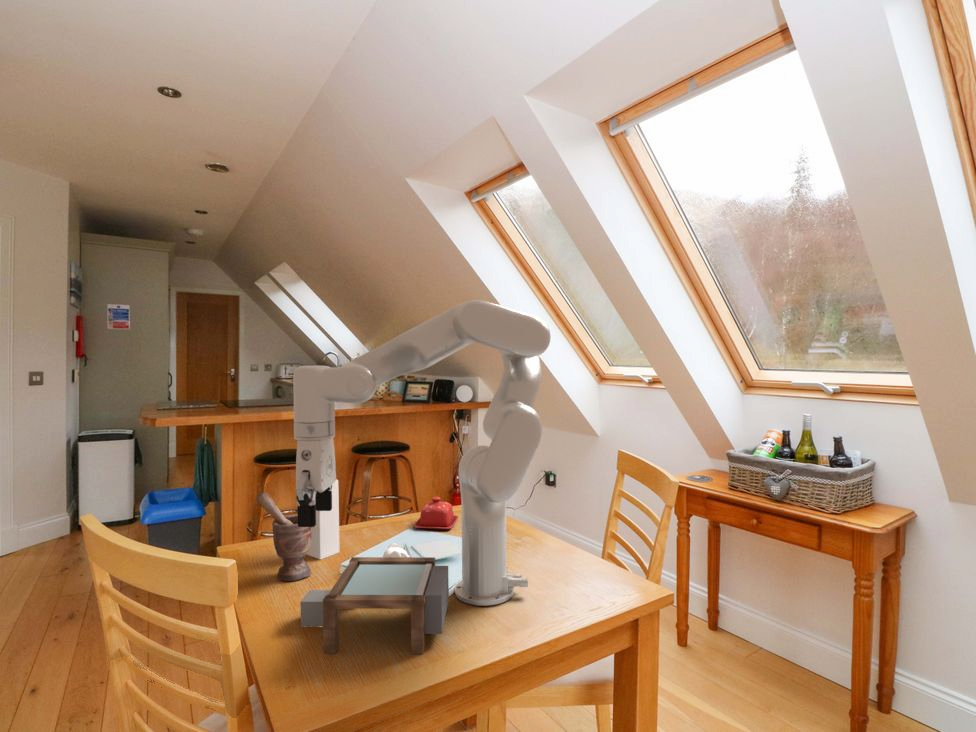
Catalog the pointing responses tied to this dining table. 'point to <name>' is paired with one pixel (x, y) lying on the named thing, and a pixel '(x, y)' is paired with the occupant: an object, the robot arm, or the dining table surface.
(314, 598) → the gray cube
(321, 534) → the milk
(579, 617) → the dining table surface
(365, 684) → the dining table surface
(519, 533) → the dining table surface
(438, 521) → the butter dish
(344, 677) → the dining table surface
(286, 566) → the mortar and pestle
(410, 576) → the trapdoor
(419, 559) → the frame
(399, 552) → the elephant figurine
